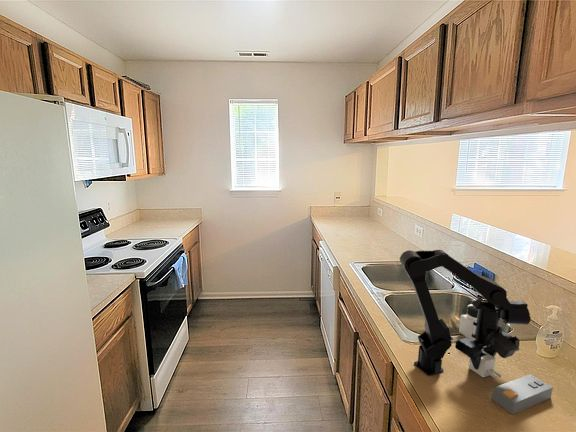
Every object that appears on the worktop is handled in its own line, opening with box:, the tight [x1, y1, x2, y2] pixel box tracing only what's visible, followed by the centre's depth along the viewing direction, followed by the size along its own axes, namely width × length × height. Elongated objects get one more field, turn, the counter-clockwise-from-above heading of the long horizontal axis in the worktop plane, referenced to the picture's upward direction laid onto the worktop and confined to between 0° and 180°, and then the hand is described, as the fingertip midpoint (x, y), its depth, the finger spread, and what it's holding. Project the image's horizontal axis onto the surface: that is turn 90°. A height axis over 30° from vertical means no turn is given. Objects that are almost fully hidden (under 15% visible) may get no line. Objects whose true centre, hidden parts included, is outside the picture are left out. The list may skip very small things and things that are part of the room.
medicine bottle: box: [458, 304, 478, 341], centre depth 123 cm, size 7×7×12 cm
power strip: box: [491, 373, 553, 415], centre depth 92 cm, size 6×16×4 cm, turn 112°
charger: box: [468, 351, 502, 380], centre depth 102 cm, size 8×4×6 cm, turn 22°
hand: (481, 367), depth 104 cm, fingers closed on charger, 4 cm apart
